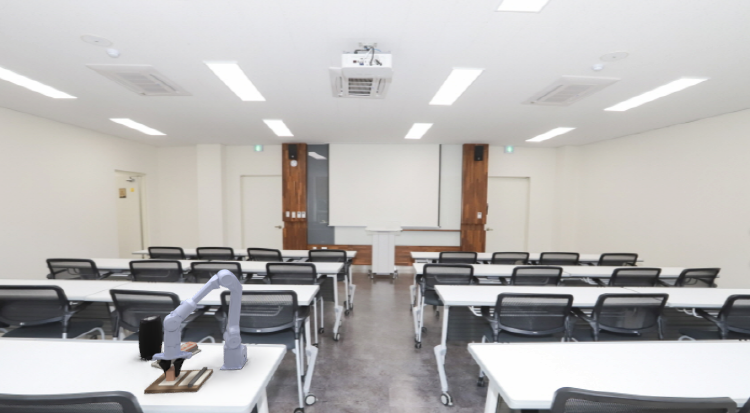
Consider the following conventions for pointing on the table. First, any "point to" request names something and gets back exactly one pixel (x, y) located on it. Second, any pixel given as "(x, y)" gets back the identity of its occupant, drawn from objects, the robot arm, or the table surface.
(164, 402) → the table surface
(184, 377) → the board
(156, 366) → the packaged product
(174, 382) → the stub
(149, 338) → the portable speaker
